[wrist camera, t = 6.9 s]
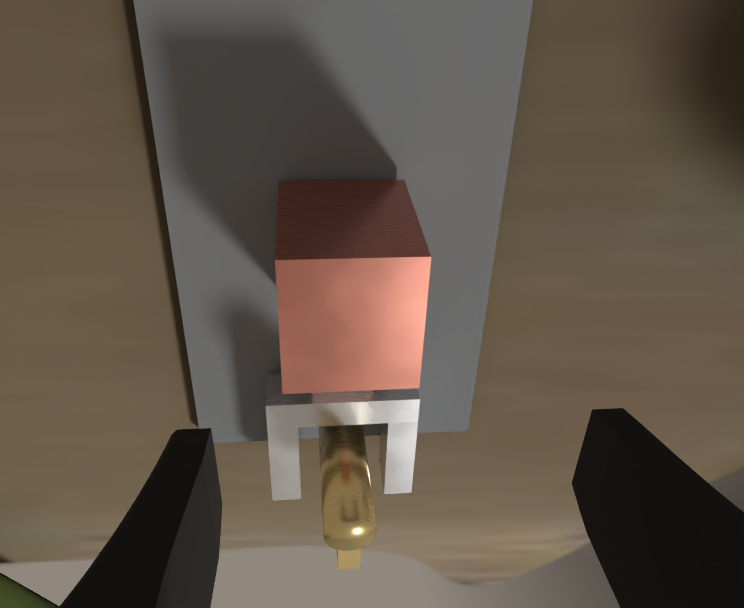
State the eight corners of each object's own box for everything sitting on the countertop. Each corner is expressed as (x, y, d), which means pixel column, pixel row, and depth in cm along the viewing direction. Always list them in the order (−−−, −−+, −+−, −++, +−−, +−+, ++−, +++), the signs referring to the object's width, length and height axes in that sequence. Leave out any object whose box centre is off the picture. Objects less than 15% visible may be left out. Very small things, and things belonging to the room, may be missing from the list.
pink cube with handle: (405, 459, 26) (424, 561, 22) (273, 466, 25) (270, 572, 21) (428, 179, 19) (461, 255, 16) (253, 181, 19) (243, 260, 15)
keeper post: (360, 449, 26) (374, 569, 21) (318, 451, 25) (324, 572, 21) (362, 397, 24) (377, 515, 20) (317, 399, 24) (322, 518, 20)
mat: (464, 419, 26) (467, 430, 26) (203, 432, 25) (201, 443, 25) (537, -84, 17) (546, -82, 16) (124, -96, 16) (118, -95, 15)
